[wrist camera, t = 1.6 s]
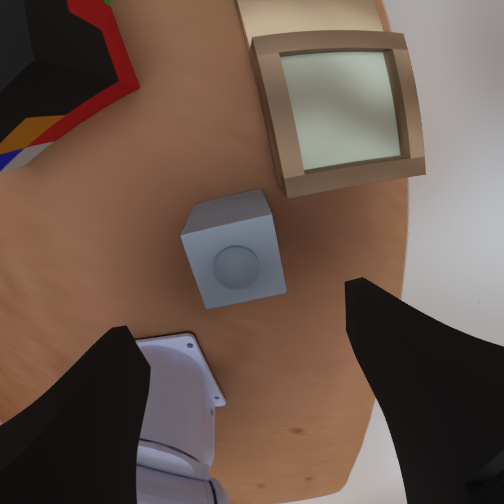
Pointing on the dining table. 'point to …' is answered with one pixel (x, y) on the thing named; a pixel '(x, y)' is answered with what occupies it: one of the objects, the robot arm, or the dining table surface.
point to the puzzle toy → (56, 71)
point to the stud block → (234, 249)
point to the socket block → (333, 93)
